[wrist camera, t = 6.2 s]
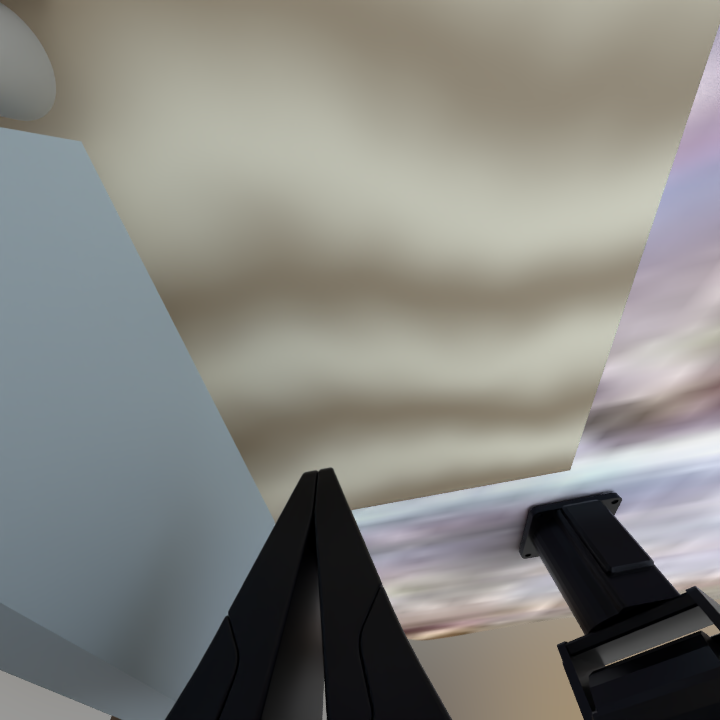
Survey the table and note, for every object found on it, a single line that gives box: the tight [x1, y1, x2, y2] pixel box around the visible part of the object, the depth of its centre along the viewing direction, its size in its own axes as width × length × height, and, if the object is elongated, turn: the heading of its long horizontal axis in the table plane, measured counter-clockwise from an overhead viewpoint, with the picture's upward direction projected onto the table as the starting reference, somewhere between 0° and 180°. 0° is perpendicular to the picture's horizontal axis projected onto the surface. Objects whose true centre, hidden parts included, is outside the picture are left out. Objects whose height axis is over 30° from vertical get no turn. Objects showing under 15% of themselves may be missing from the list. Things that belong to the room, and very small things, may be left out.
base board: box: [0, 0, 720, 524], centre depth 12 cm, size 26×24×1 cm
